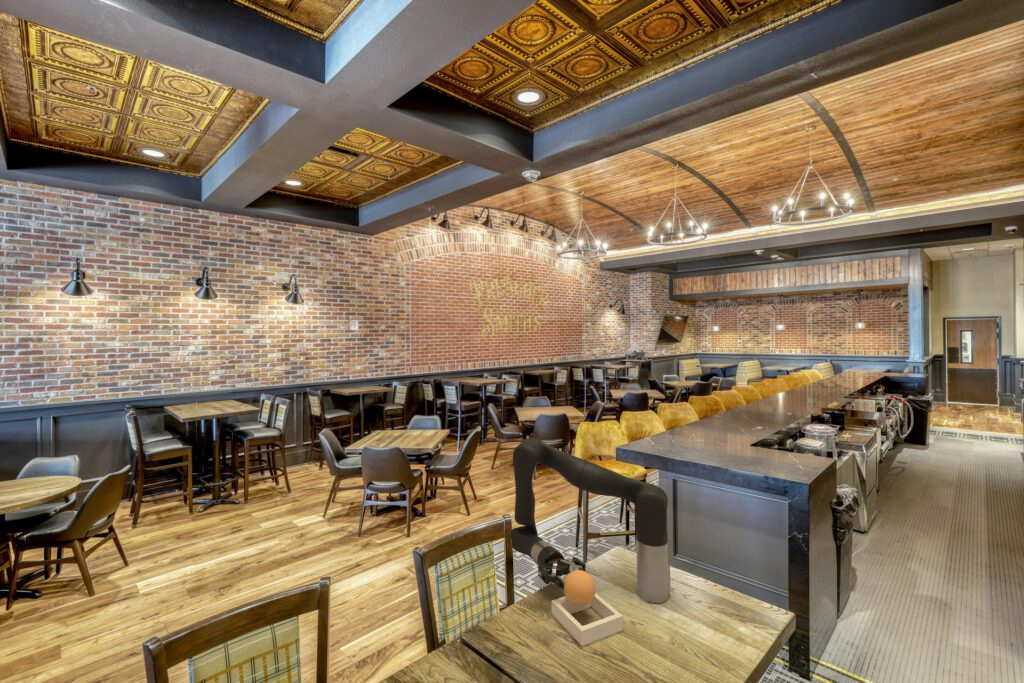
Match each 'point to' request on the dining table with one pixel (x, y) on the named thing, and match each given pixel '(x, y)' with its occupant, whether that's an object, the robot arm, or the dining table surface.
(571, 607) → the white square frame
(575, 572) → the ball
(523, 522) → the robot arm
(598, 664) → the dining table surface
